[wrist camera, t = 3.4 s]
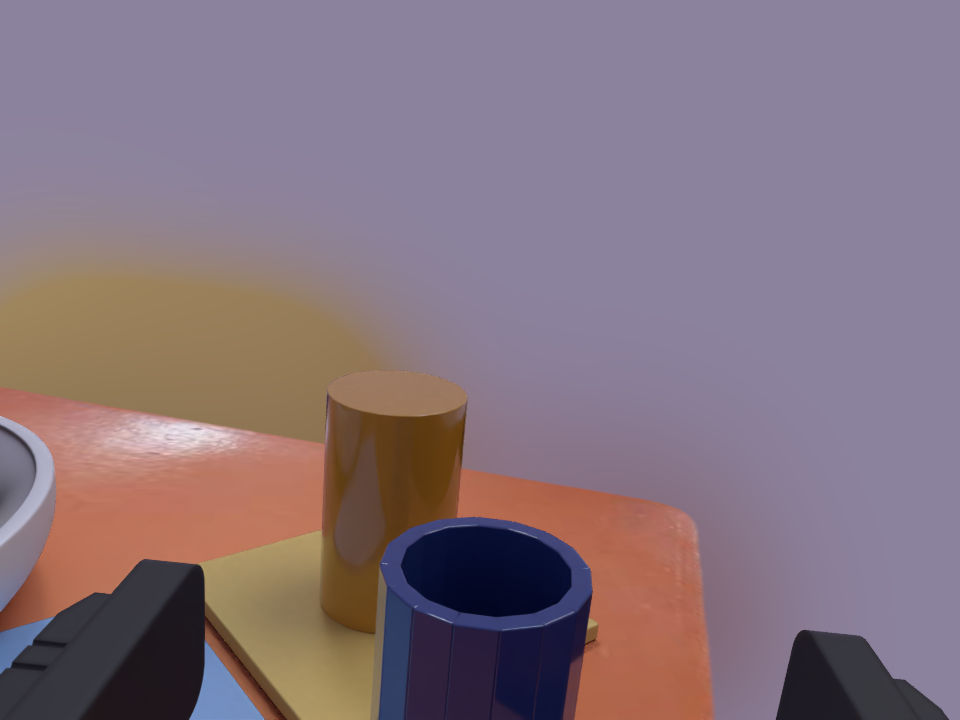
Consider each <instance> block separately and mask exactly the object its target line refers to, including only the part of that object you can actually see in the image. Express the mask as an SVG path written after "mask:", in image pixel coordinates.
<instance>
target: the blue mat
mask: <svg viewBox="0 0 960 720" xmlns="http://www.w3.org/2000/svg"><path fill="white" fill-rule="evenodd" d="M53 618H54V617H51V618H48V619H44V620H41V621H37V622H34V623H30V624H26V625H23V626H19V627H16V628H12V629H9V630H5V631H2V632H0V674H1V673H2V672H3V671H4V670H5V669H6V668H10V667H11V665H12V661H13V660H14V659H15V658H16V657H17V656H18V655H19V654H20V653H21V652H22V651H23V650H24V649H25V648H26V647H27V646H28V645H32V643H33V639H34V638H35V637H36V636H37V635H38V634H39V633H40V632H41V631H42V630H43V629H44V628H45V627H46V626H47V625H48V624H49V622H50V621H51V620H52V619H53ZM189 720H265V719H264V718H263V716H262V715H261V714H260V712H259V711H258V710H257V708H256V707H255V706H254V704H253V703H252V702H251V700H250V699H249V698H248V696H247V695H246V694H245V692H244V691H243V690H242V688H241V687H240V686H239V684H238V683H237V682H236V681H235V679H234V678H233V677H232V675H231V674H230V673H229V671H228V670H227V669H226V667H225V666H224V665H223V663H222V662H221V661H220V659H219V658H218V657H217V655H216V654H215V653H214V651H213V650H212V649H211V647H210V646H209V645H208V643H207V642H206V641H205V667H204V676H203V682H202V687H201V691H200V694H199V698H198V701H197V704H196V706H195V709H194V711H193V713H192V715H191V717H190V719H189Z"/></svg>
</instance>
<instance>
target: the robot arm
mask: <svg viewBox="0 0 960 720" xmlns="http://www.w3.org/2000/svg"><path fill="white" fill-rule="evenodd" d="M204 667H205V577H204V572H203V569H202V567H201V566H200V565H197V564H187V563H178V562H168V561H158V560H149V559H144V560H142V561H140V562H139V563H138V564H137V565H136V566H135V567H134V569H133V570H132V571H131V572H130V573H129V574H128V575H127V577H126V578H125V579H124V580H123V581H122V582H121V583H120V585H119V586H118V587H117V588H116V589H115V590H114V591H113V593H112V594H105V593H93V594H92V595H90V596H88V597H86V598H84V599H83V600H81V601H79V602H77V603H76V604H74V605H72V606H70V607H69V608H67V609H65V610H63V611H61V612H60V613H58V614H57V615H56V616H55V617H54V618H53V619H52V620H51V621H50V622H49V624H48V625H47V626H46V627H45V628H44V629H43V630H42V631H41V632H40V633H39V634H38V635H37V636H36V637H35V638H34V639H33V643H32V645H28V646H27V647H26V648H25V649H24V650H23V651H22V652H21V653H20V654H19V655H18V656H17V657H16V658H15V659H14V660H13V661H12V665H11V667H10V668H6V669H5V670H4V671H3V672H2V673H1V674H0V720H189V719H190V717H191V715H192V713H193V711H194V709H195V706H196V704H197V701H198V698H199V694H200V691H201V687H202V682H203V676H204ZM776 720H949V719H948V718H947V716H946V715H945V714H944V712H943V711H942V710H941V709H940V708H939V707H938V706H937V705H935V704H934V703H933V702H932V701H930V700H929V699H928V698H927V697H925V696H924V695H923V694H922V693H920V692H919V691H918V690H917V689H915V688H914V687H913V686H911V685H910V684H909V683H908V682H907V681H906V680H901V679H893V678H892V677H891V675H890V674H889V672H888V671H887V669H886V668H885V667H884V665H883V664H882V662H881V661H880V659H879V658H878V656H877V655H876V654H875V652H874V651H873V649H872V648H871V646H870V645H869V643H868V642H867V641H866V640H865V639H864V638H863V637H861V636H856V635H847V634H837V633H828V632H819V631H809V630H802V631H800V632H799V633H798V635H797V637H796V638H795V641H794V643H793V647H792V651H791V656H790V660H789V664H788V669H787V673H786V677H785V682H784V686H783V691H782V695H781V699H780V704H779V708H778V712H777V717H776Z"/></svg>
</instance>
